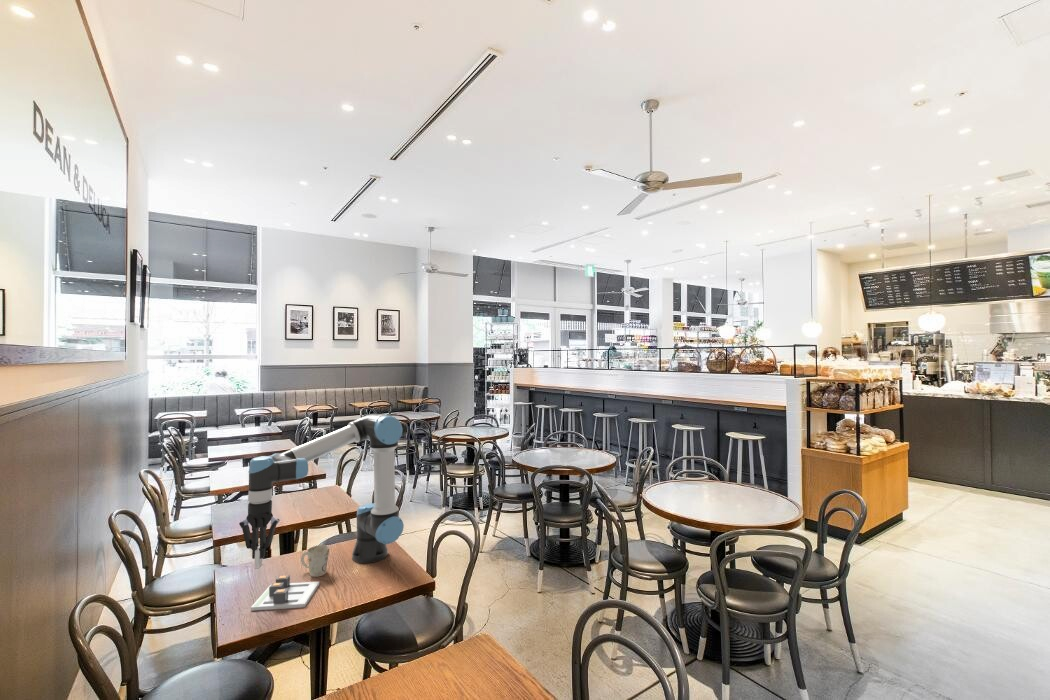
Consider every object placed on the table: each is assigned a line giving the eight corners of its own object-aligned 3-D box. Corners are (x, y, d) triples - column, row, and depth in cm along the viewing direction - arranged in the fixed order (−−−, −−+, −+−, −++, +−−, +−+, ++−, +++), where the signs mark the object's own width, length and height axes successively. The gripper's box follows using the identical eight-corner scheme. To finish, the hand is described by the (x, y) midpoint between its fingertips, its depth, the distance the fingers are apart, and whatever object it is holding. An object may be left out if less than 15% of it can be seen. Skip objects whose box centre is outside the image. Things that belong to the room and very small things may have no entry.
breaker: (288, 598, 169) (288, 588, 169) (285, 602, 166) (285, 592, 166) (276, 599, 168) (276, 589, 168) (273, 603, 165) (273, 593, 165)
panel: (319, 584, 182) (319, 572, 183) (304, 607, 166) (304, 593, 166) (270, 587, 180) (270, 574, 180) (250, 610, 163) (251, 596, 163)
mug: (320, 578, 187) (321, 553, 188) (293, 576, 190) (293, 551, 190) (333, 569, 195) (333, 545, 196) (306, 567, 198) (307, 543, 198)
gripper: (283, 497, 171) (281, 562, 171) (245, 498, 170) (243, 563, 169) (275, 503, 164) (273, 571, 163) (235, 504, 162) (233, 572, 161)
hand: (258, 567), depth 166 cm, fingers closed
